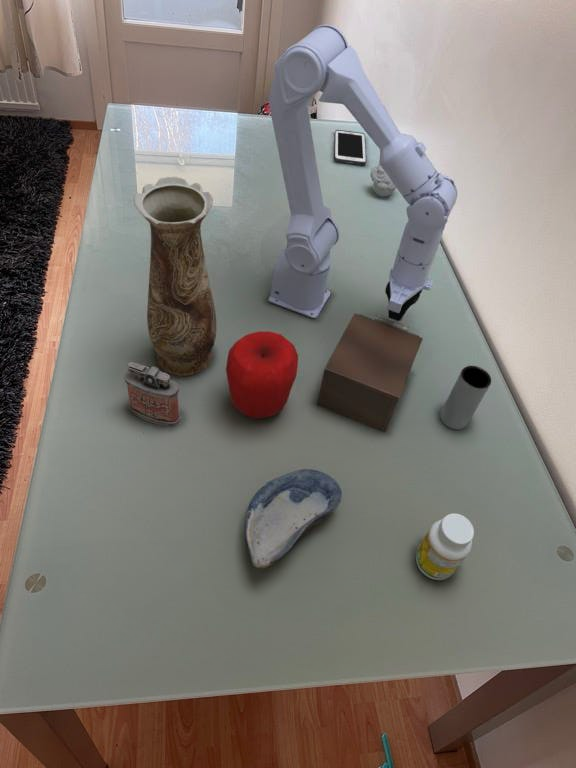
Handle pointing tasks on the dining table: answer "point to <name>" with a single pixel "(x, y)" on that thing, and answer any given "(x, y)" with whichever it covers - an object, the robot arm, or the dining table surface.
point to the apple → (261, 373)
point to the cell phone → (350, 147)
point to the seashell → (287, 512)
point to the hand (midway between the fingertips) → (394, 317)
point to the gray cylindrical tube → (465, 397)
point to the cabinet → (368, 371)
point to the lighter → (152, 395)
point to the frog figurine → (381, 181)
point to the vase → (178, 275)
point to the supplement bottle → (445, 546)
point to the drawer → (391, 323)
